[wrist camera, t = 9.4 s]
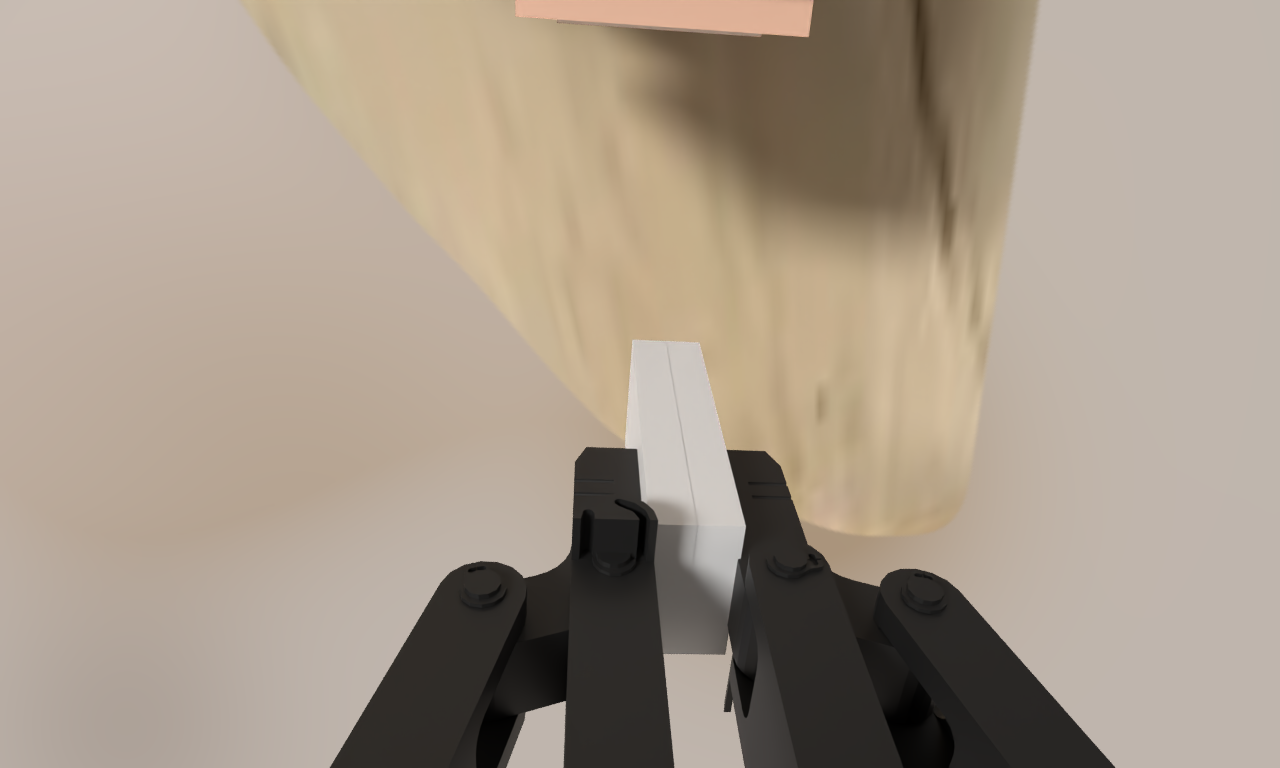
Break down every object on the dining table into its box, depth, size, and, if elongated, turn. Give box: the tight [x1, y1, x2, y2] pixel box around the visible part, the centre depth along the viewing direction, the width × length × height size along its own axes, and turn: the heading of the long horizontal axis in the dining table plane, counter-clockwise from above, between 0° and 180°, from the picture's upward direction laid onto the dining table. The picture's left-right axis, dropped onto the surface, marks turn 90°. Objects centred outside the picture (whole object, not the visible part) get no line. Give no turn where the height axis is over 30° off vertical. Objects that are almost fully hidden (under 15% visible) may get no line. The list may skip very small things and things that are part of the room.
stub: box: [516, 0, 814, 37], centre depth 25 cm, size 8×8×1 cm
